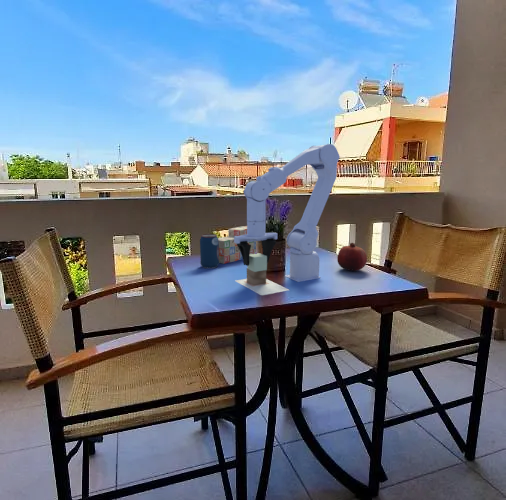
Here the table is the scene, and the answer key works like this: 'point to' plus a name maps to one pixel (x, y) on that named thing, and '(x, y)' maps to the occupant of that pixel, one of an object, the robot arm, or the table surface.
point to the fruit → (352, 257)
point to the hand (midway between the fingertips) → (256, 263)
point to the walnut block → (256, 277)
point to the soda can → (209, 251)
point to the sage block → (257, 262)
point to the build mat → (263, 287)
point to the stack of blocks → (233, 246)
